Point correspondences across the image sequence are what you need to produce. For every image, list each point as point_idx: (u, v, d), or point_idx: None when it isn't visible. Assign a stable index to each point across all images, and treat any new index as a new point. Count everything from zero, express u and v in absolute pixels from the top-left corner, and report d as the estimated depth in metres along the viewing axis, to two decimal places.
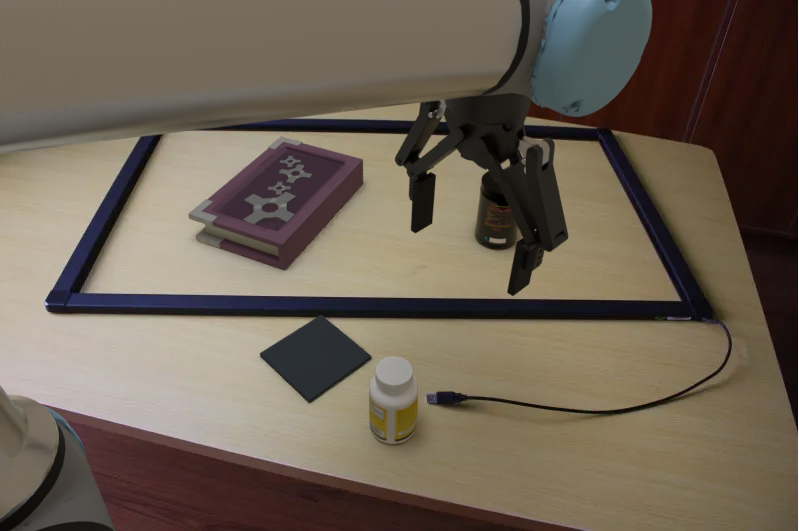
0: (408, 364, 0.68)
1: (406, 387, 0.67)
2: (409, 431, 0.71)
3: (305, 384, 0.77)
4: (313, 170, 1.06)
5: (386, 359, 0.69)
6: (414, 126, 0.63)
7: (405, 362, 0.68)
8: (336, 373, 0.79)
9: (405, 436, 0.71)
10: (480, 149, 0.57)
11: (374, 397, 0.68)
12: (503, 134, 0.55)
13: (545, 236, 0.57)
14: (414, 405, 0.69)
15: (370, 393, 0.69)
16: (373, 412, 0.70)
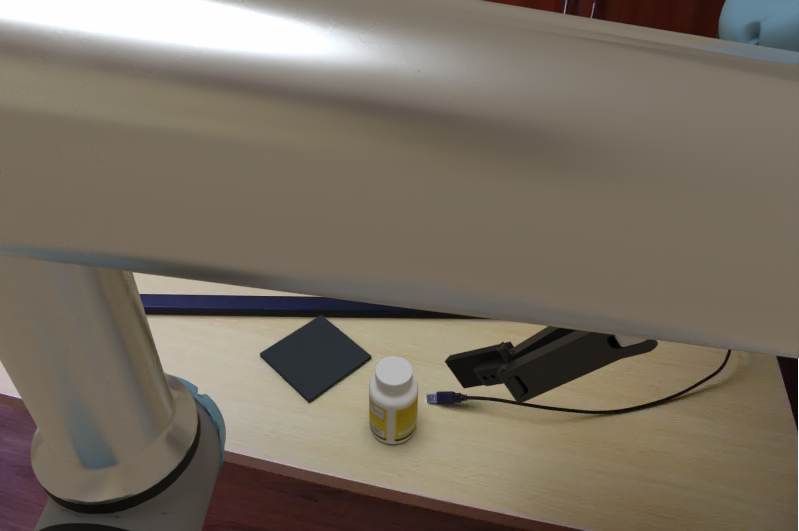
0: (408, 364, 0.68)
1: (406, 387, 0.67)
2: (409, 431, 0.71)
3: (305, 384, 0.77)
4: None
5: (386, 359, 0.69)
6: None
7: (405, 362, 0.68)
8: (336, 373, 0.79)
9: (405, 436, 0.71)
10: None
11: (374, 397, 0.68)
12: None
13: (517, 363, 0.42)
14: (414, 405, 0.69)
15: (370, 393, 0.69)
16: (373, 412, 0.70)
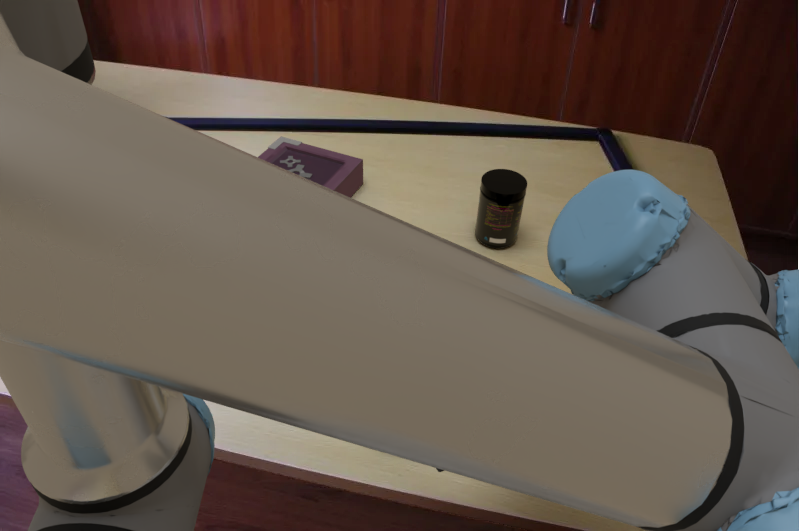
0: None
1: None
2: None
3: None
4: (313, 170, 1.06)
5: None
6: None
7: None
8: None
9: None
10: None
11: None
12: None
13: None
14: None
15: None
16: None
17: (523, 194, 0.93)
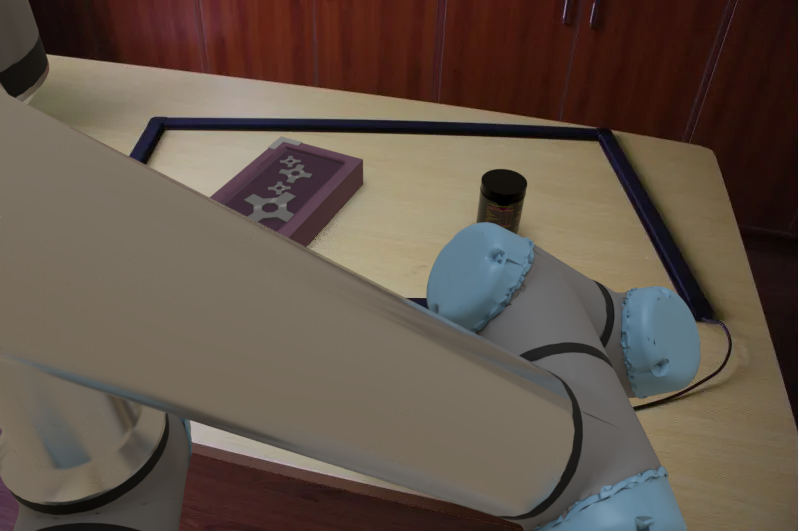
0: None
1: None
2: None
3: None
4: (313, 170, 1.06)
5: None
6: None
7: None
8: None
9: None
10: None
11: None
12: None
13: None
14: None
15: None
16: None
17: (523, 194, 0.93)
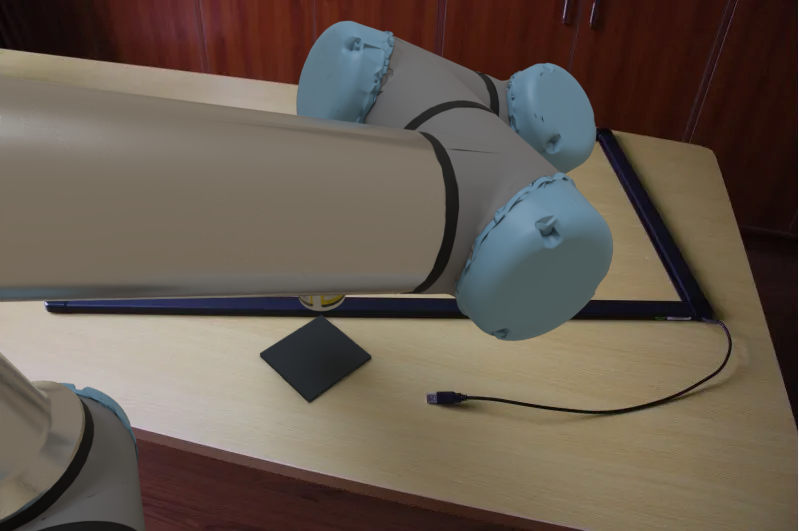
0: None
1: None
2: (336, 297, 0.69)
3: (305, 384, 0.77)
4: None
5: None
6: None
7: None
8: (336, 373, 0.79)
9: (332, 302, 0.70)
10: None
11: None
12: None
13: None
14: None
15: None
16: None
17: None
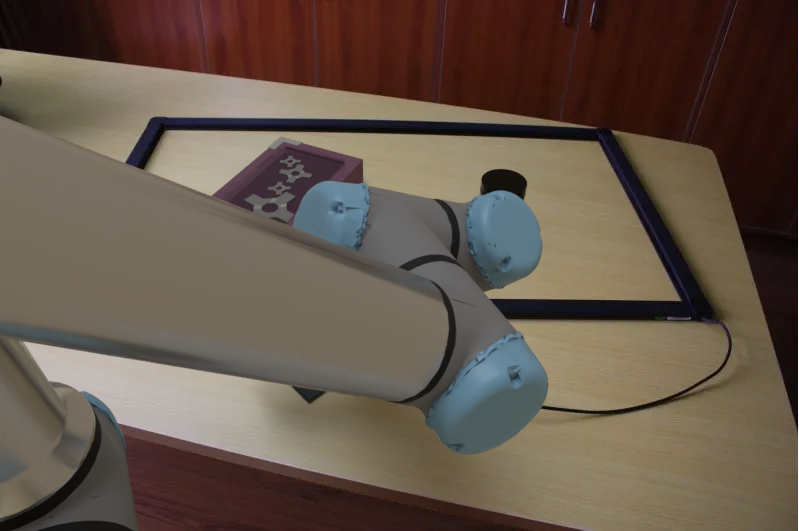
0: None
1: None
2: None
3: None
4: (313, 170, 1.06)
5: None
6: None
7: None
8: None
9: None
10: None
11: None
12: None
13: None
14: None
15: None
16: None
17: (523, 194, 0.93)
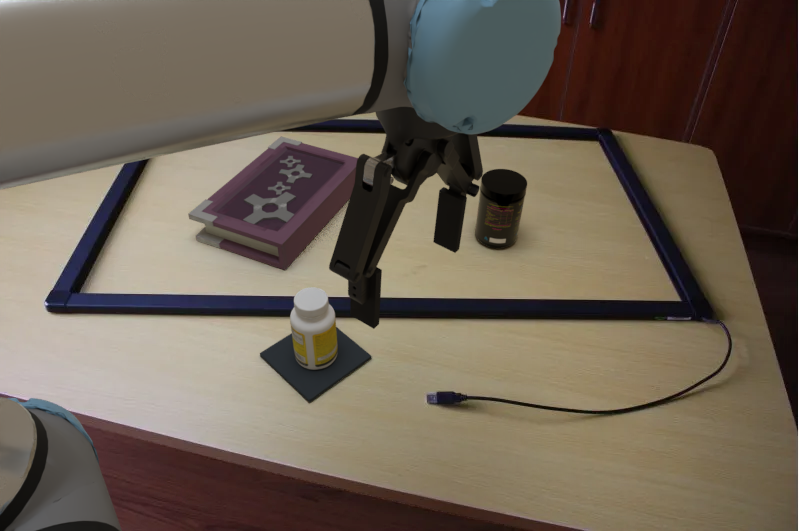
0: (324, 294, 0.75)
1: (321, 313, 0.74)
2: (328, 357, 0.78)
3: (305, 384, 0.77)
4: (313, 170, 1.06)
5: (305, 289, 0.76)
6: None
7: (322, 292, 0.75)
8: (336, 373, 0.79)
9: (325, 362, 0.78)
10: None
11: (293, 323, 0.75)
12: None
13: None
14: (331, 332, 0.76)
15: (290, 320, 0.76)
16: (294, 339, 0.77)
17: (523, 194, 0.93)
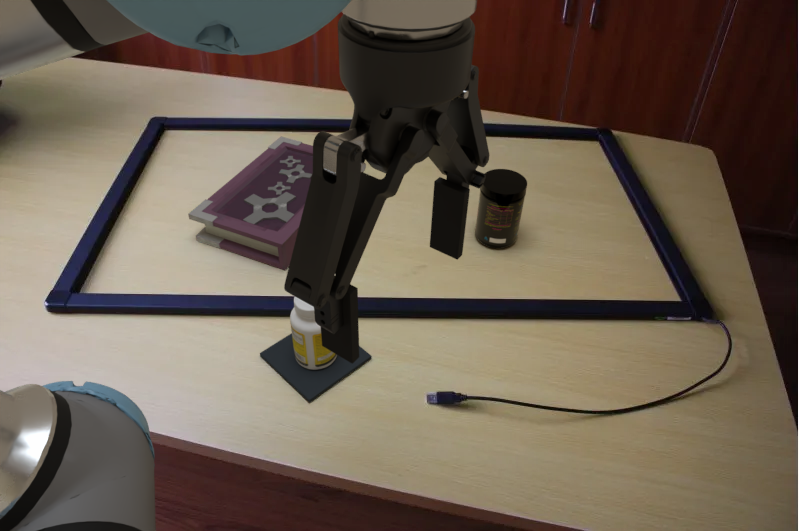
0: None
1: None
2: (328, 357, 0.78)
3: (305, 384, 0.77)
4: None
5: None
6: None
7: None
8: (336, 373, 0.79)
9: (325, 362, 0.78)
10: None
11: (293, 323, 0.75)
12: None
13: None
14: None
15: (290, 320, 0.76)
16: (294, 339, 0.77)
17: (523, 194, 0.93)
